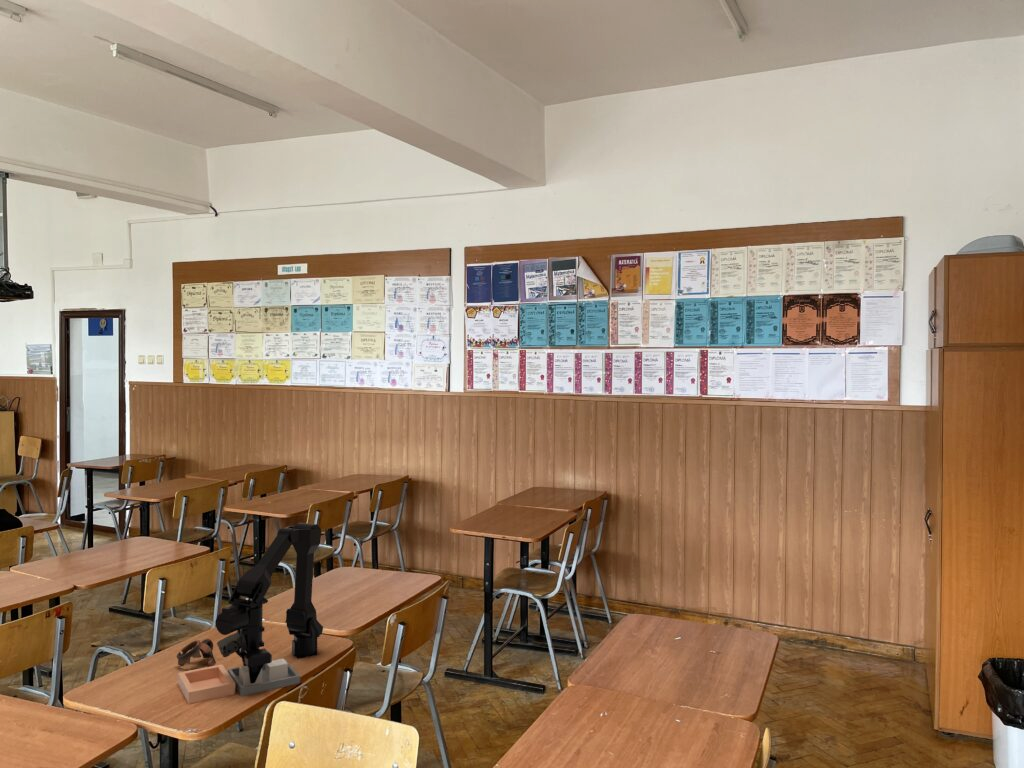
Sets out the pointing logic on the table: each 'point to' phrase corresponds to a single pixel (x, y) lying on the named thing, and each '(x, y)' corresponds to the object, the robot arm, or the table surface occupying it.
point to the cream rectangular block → (245, 676)
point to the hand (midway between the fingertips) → (250, 680)
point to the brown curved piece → (197, 652)
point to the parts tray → (264, 681)
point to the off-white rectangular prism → (276, 670)
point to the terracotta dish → (206, 683)
